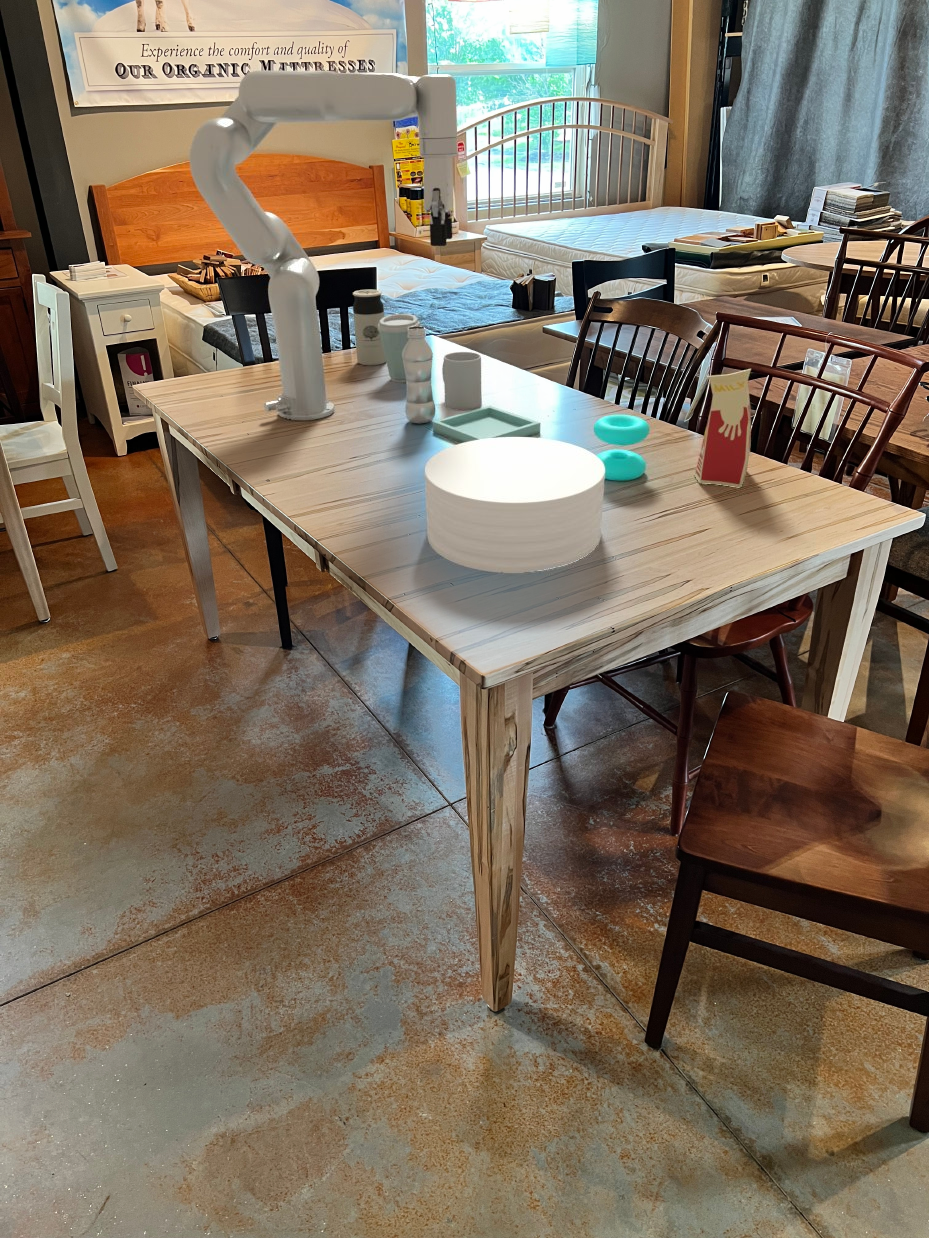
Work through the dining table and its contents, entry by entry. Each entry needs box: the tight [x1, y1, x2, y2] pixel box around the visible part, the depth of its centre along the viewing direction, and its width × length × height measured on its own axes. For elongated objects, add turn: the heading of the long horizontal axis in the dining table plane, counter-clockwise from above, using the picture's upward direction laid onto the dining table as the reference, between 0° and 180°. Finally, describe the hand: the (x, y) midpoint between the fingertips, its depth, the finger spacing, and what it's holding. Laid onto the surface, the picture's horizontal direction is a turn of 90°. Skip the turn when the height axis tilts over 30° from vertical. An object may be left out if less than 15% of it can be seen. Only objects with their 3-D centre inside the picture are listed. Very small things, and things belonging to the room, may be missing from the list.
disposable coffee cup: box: [377, 313, 422, 383], centre depth 215 cm, size 11×11×15 cm
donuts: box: [593, 414, 650, 482], centre depth 159 cm, size 10×10×10 cm
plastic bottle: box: [402, 325, 436, 424], centre depth 184 cm, size 6×7×20 cm
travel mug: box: [352, 289, 387, 366], centre depth 229 cm, size 8×8×18 cm
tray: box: [432, 405, 541, 444], centre depth 182 cm, size 16×16×2 cm
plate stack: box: [424, 436, 606, 574], centre depth 138 cm, size 28×28×12 cm
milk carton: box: [694, 368, 752, 488], centre depth 154 cm, size 9×9×20 cm
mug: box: [441, 351, 483, 411], centre depth 198 cm, size 12×8×11 cm
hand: (441, 242), depth 179 cm, fingers open, 9 cm apart
